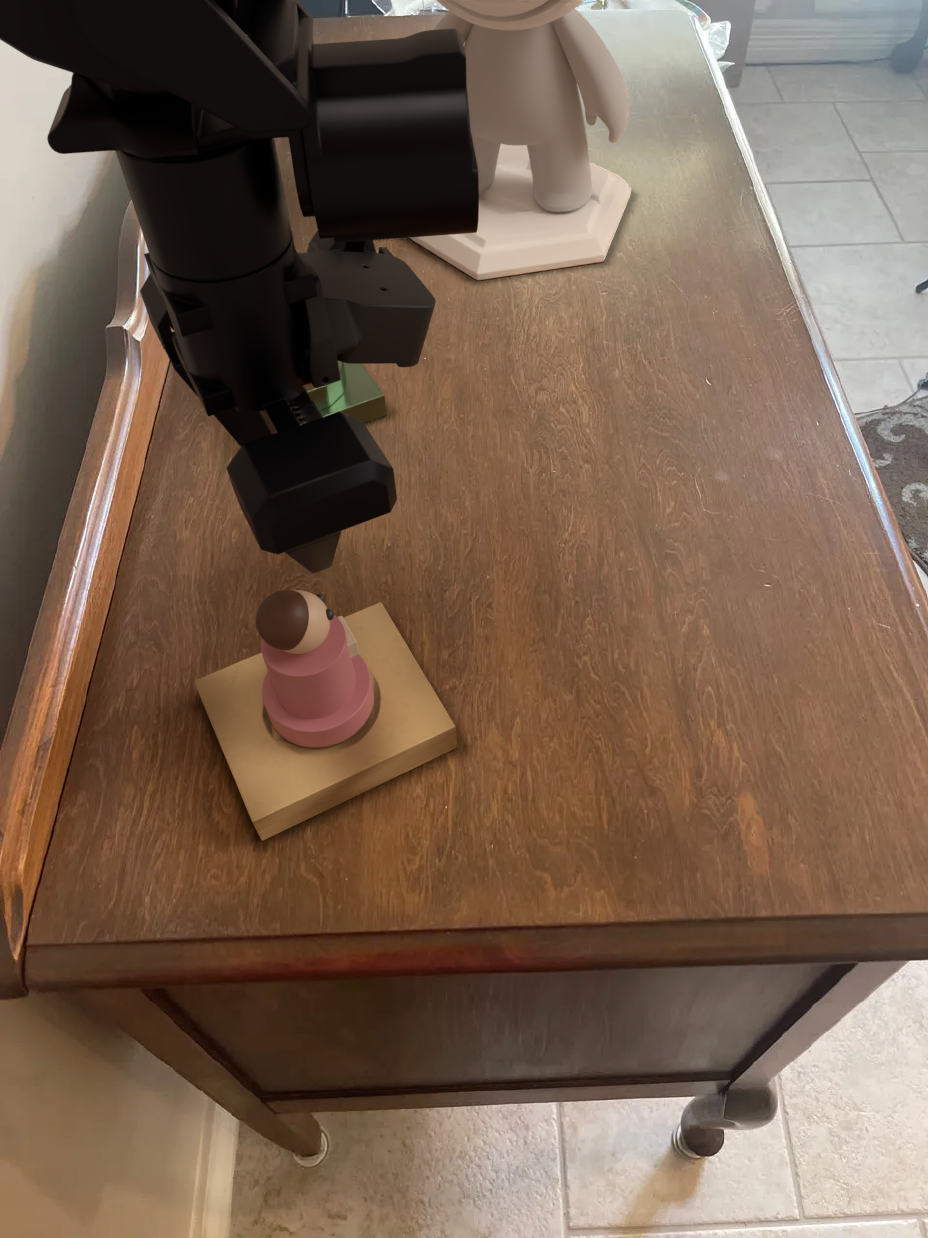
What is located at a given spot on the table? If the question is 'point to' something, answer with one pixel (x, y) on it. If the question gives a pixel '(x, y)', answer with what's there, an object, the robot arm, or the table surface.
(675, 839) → the table surface
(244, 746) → the doll stand
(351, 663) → the doll
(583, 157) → the white cartoon figure
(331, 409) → the green button box
